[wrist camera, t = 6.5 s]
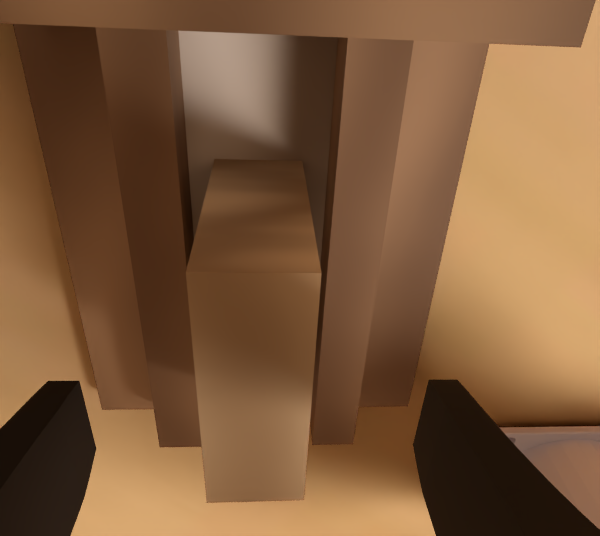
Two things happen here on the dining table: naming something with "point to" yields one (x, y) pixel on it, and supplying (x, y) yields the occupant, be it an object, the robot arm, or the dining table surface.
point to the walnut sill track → (261, 146)
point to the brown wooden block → (254, 329)
